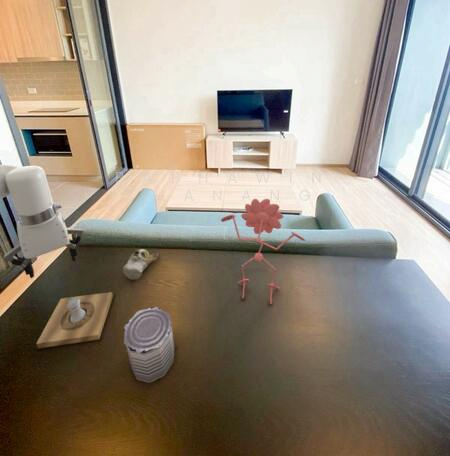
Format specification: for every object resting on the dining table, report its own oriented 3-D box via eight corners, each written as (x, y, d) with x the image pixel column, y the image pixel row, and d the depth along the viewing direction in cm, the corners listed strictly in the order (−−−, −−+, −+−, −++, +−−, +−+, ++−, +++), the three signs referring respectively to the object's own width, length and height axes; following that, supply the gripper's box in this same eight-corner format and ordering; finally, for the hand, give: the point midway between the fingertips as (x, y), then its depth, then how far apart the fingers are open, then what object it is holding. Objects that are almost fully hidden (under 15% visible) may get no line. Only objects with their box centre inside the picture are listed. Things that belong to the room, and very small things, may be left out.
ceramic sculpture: (112, 262, 85) (136, 236, 99) (115, 282, 87) (138, 254, 101) (139, 267, 83) (160, 240, 97) (141, 287, 85) (161, 258, 99)
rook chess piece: (77, 312, 77) (71, 293, 74) (90, 313, 77) (85, 295, 74) (67, 326, 73) (60, 307, 70) (80, 328, 72) (74, 308, 70)
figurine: (298, 312, 76) (310, 217, 64) (218, 296, 82) (215, 206, 69) (296, 273, 90) (306, 189, 78) (228, 262, 96) (227, 182, 83)
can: (129, 346, 68) (122, 315, 63) (170, 328, 72) (166, 298, 68) (132, 393, 58) (125, 360, 54) (179, 369, 62) (175, 337, 58)
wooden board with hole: (38, 348, 67) (36, 343, 67) (62, 302, 80) (60, 298, 80) (99, 339, 69) (97, 334, 69) (113, 296, 82) (112, 291, 82)
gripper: (74, 197, 70) (85, 245, 76) (-7, 219, 60) (14, 272, 66) (78, 208, 64) (90, 259, 70) (-10, 234, 54) (13, 291, 60)
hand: (53, 266), depth 68 cm, fingers open, 9 cm apart
